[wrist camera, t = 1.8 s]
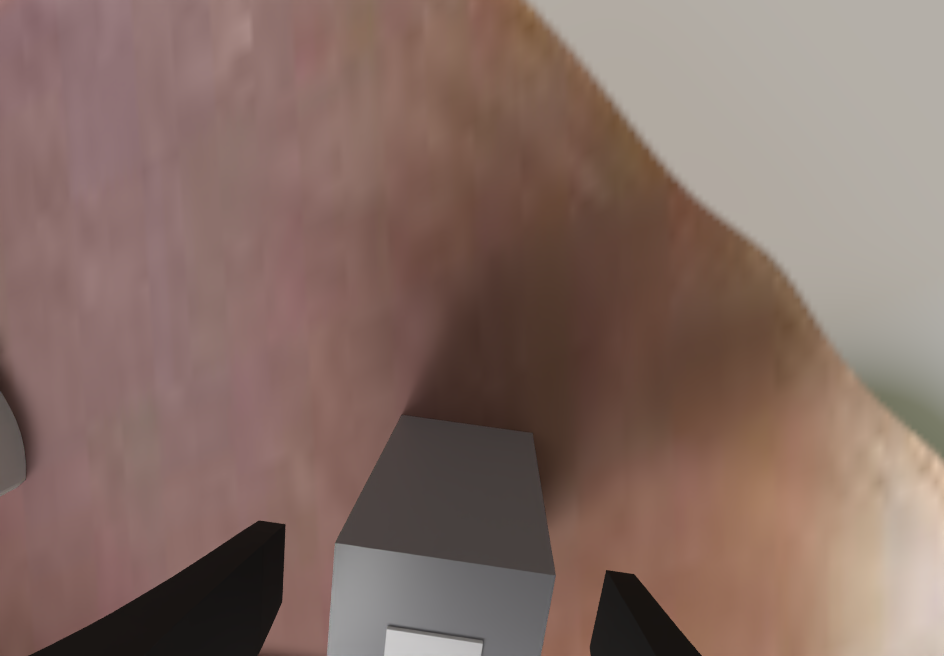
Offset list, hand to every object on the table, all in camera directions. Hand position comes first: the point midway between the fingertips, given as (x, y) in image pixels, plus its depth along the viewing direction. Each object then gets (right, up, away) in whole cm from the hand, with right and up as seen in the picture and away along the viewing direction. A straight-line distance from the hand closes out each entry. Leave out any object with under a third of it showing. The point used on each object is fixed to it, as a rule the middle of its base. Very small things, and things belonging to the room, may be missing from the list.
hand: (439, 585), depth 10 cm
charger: (0, +1, +4) cm, 4 cm away
